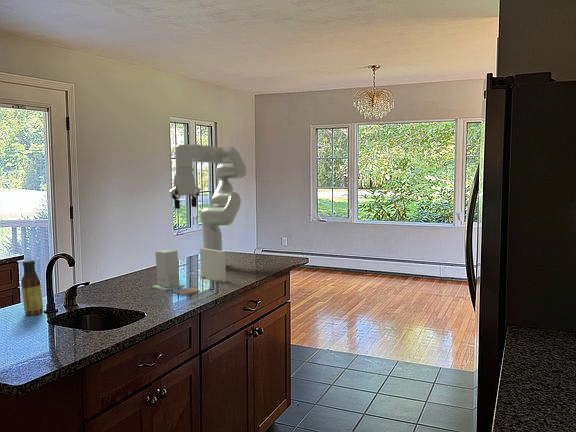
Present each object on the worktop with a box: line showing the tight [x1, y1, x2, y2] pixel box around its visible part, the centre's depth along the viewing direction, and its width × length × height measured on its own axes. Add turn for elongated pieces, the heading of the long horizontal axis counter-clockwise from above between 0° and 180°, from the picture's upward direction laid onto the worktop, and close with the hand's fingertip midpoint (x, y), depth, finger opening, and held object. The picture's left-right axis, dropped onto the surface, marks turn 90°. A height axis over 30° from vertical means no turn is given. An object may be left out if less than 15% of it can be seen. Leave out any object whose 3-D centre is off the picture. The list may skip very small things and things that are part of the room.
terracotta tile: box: [172, 287, 200, 296], centre depth 223 cm, size 8×8×1 cm
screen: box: [199, 247, 228, 283], centre depth 245 cm, size 4×16×14 cm, turn 48°
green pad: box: [151, 283, 185, 292], centre depth 234 cm, size 10×10×1 cm
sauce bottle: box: [21, 259, 44, 316], centre depth 195 cm, size 6×6×20 cm
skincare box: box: [155, 248, 181, 288], centre depth 233 cm, size 8×7×16 cm
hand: (185, 207), depth 249 cm, fingers open, 9 cm apart
